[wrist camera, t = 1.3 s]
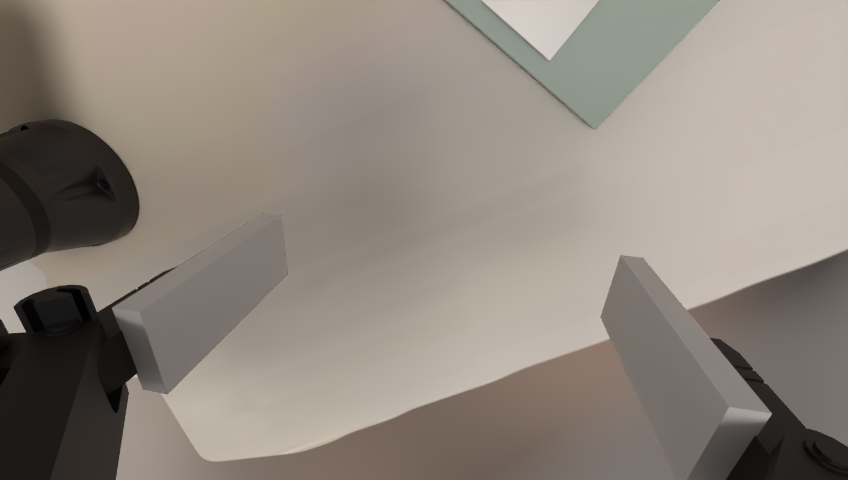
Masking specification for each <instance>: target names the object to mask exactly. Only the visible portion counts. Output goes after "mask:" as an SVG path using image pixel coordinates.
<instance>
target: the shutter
mask: <svg viewBox="0 0 848 480" xmlns="http://www.w3.org/2000/svg"><path fill="white" fill-rule="evenodd" d="M598 1H599V0H482V3H483V4H484V5H485V6H487V7H488V8H489V9H490V10H491V11H492V12H493V13H495V14H496V15H497V16H498V17H499V18H500V19H501V20H502V21H504V22H505V23H506V24H507V25H508V26H509V27H510V28H511V29H513V30H514V31H515V32H516V33H517V34H518V35H519V36H521V37H522V38H523V39H524V40H525V41H526V42H527V43H528V44H530V45H531V46H532V47H533V48H534V49H535V50H536V51H538V52H539V53H540V54H541V55H542V56H543V57H544V58H545V59H547V60H548V61H550V60H551V58H552V57H553V56H554V55H555V54H556V52H557V51H558V50H559V49H560V47H561V46H562V45H563V44H564V43H565V41H566V40H567V39H568V38H569V36H570V35H571V34H572V33H573V32H574V30H575V29H576V28H577V27H578V25H579V24H580V23H581V22H582V21H583V19H584V18H585V17H586V16H587V14H588V13H589V12H590V11H591V9H592V8H593V7H594V6H595V5H596V3H597V2H598Z"/></svg>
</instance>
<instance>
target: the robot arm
mask: <svg viewBox="0 0 848 480" xmlns="http://www.w3.org/2000/svg"><path fill="white" fill-rule="evenodd" d="M137 215H138V199H137V194H136V190H135V187H134V184H133V182H132V180H131V177H130V175H129V174H128V172H127V170H126V168H125V167H124V165H123V164H122V162H121V161H120V159H119V158H118V157H117V156H116V154H115V153H114V152H113V151H112V150H111V149H110V148H109V147H108V146H107V145H106V144H105V143H104V142H103V141H102V140H100V139H99V138H98V137H96V136H95V135H94V134H92V133H91V132H89V131H88V130H86V129H84V128H82V127H80V126H78V125H75V124H73V123H70V122H66V121H62V120H45V121H36V122H29V123H24V124H21V125H18V126H16V127H14V128H12V129H11V130H9V131H8V132H5V133H2V134H0V271H1V270H4V269H6V268H9V267H11V266H13V265H16V264H18V263H21V262H23V261H26V260H28V259H31V258H33V257H36V256H38V255H40V254H43V253H46V252H53V251H60V250H67V249H74V248H80V247H90V246H99V245H103V244H106V243H109V242H111V241H113V240H116V239H118V238H120V237H122V236H124V235H126V234H127V233H128V232H129V231H130V230H131V229H132V228H133V226H134V224H135V222H136V219H137ZM287 274H288V270H287V262H286V254H285V246H284V238H283V230H282V221H281V215H273V214H264V213H263V214H261V215H260V216H258V217H257V218H255V219H253V220H252V221H250V222H249V223H247V224H245V225H244V226H242V227H241V228H239V229H237V230H236V231H234V232H233V233H231V234H229V235H228V236H226V237H225V238H223V239H221V240H220V241H218V242H217V243H215V244H213V245H212V246H210V247H208V248H207V249H205V250H204V251H202V252H200V253H199V254H197V255H196V256H194V257H192V258H191V259H189V260H188V261H186V262H184V263H183V264H181V265H180V266H178V267H175V268H172V269H170V270H167V271H164V272H162V273H161V274H159V275H158V276H156V277H154V278H153V279H151V280H150V281H149V282H146V283H145V284H143V285H141V286H140V287H138V289H137V290H136V289H135V290H133V291H131V292H130V293H128V294H127V295H125V296H123V297H122V298H120V299H118V300H117V301H115V302H113V303H112V304H110V305H109V306H107V307H105V308H104V309H102V310H100V311H99V312H97V311H96V309H95V306H94V304H93V301H92V299H91V296H90V294H89V291H88V289H87V288H86V287H84V286H81V285H65V286H58V287H54V288H49V289H45V290H42V291H40V292H37V293H34V294H32V295H30V296H28V297H26V298H24V299H22V300H21V301H19V302H18V303H17V304H16V305H15V306H14V309H15V311H16V313H17V315H18V317H19V319H20V321H21V323H22V325H23V327H24V329H25V330H26V333H10V334H9V333H8V331H7V329H6V328H5V326H4V324H3V322H2V320H1V319H0V480H116V474H117V467H118V461H119V454H120V448H121V441H122V434H123V428H124V421H125V415H126V408H127V401H128V395H129V392H128V388H127V385H126V382H127V381H128V380H130V379H131V378H132V377H133V376H134V375H135V374H137V375H138V378H139V380H140V383H141V386H142V388H143V390H149V391H153V392H159V393H164V394H168V393H169V392H170V391H171V390H172V389H173V388H174V387H175V386H176V385H177V384H178V383H179V382H180V381H181V380H182V379H183V378H184V377H185V376H186V375H187V374H188V373H189V372H190V371H191V370H192V369H193V368H194V367H195V366H196V365H197V364H198V363H199V362H200V361H201V360H202V359H203V358H204V357H205V356H206V355H207V354H208V353H209V352H210V351H211V350H212V349H213V348H214V347H215V346H216V345H217V344H218V343H219V342H220V341H221V340H222V339H223V338H224V337H225V336H226V335H227V334H228V333H229V332H230V331H231V330H232V329H233V328H234V327H235V326H236V325H237V324H238V323H239V322H240V321H241V320H242V319H243V318H244V317H245V316H246V315H247V314H248V313H249V312H250V311H251V310H252V309H253V308H254V307H255V306H256V305H257V304H258V303H259V302H260V301H261V300H262V299H263V298H264V297H265V296H266V295H267V294H268V293H269V292H270V291H271V290H272V289H273V288H274V287H275V286H276V285H277V284H278V283H279V282H280V281H281V280H282V279H283V278H284V277H285V276H286V275H287ZM601 319H602V321H603V324H604V326H605V328H606V330H607V332H608V335H609V337H610V339H611V341H612V343H613V346H614V348H615V350H616V352H617V354H618V357H619V359H620V361H621V363H622V365H623V368H624V370H625V372H626V374H627V376H628V379H629V381H630V383H631V385H632V387H633V390H634V392H635V394H636V396H637V398H638V400H639V403H640V405H641V407H642V409H643V412H644V414H645V416H646V418H647V420H648V423H649V425H650V427H651V429H652V431H653V434H654V436H655V438H656V440H657V442H658V445H659V447H660V449H661V451H662V453H663V456H664V458H665V460H666V462H667V464H668V467H669V469H670V471H671V473H672V475H673V478H674V480H848V447H847V446H845V445H844V444H842V443H840V442H839V441H837V440H835V439H834V438H832V437H829V436H827V435H824V434H822V433H820V432H818V431H815V430H810V429H806V428H805V426H804V425H803V424H802V423H801V422H800V421H799V420H798V419H797V417H796V416H795V415H794V414H793V413H792V412H791V411H790V410H789V408H788V407H787V406H786V405H785V404H784V403H783V402H782V401H781V399H780V398H779V397H778V396H777V395H776V394H775V393H774V392H773V390H772V389H771V388H770V387H769V386H768V385H767V384H764V381H763V379H762V378H761V377H760V376H759V375H758V374H757V373H756V372H755V371H753V370H752V369H753V368H752V367H751V366H750V365H749V364H748V362H747V361H746V360H745V359H744V358H743V357H742V356H741V355H740V353H738V352H737V351H736V350H734V349H733V348H731V347H730V346H728V345H727V344H726V343H724V342H723V341H722V340H720V339H714V338H709V337H708V336H707V335H706V333H705V332H704V331H703V330H702V328H701V327H700V326H699V325H698V324H697V322H696V321H695V320H694V319H693V318H692V317H691V315H690V314H689V313H688V312H687V310H686V309H685V308H684V307H683V306H682V304H681V303H680V302H679V301H678V300H677V298H676V297H675V296H674V295H673V293H672V292H671V291H670V290H669V289H668V287H667V286H666V285H665V284H664V283H663V281H662V280H661V279H660V278H659V277H658V275H657V274H656V273H655V272H654V271H653V269H652V268H651V267H650V266H649V265H648V263H647V262H646V261H645V260H644V258H640V257H631V256H623V255H620V259H619V262H618V265H617V268H616V271H615V274H614V277H613V280H612V283H611V286H610V289H609V293H608V296H607V299H606V302H605V305H604V308H603V311H602V314H601Z"/></svg>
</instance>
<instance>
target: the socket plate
mask: <svg viewBox="0 0 848 480" xmlns="http://www.w3.org/2000/svg"><path fill="white" fill-rule="evenodd" d="M444 1H445V2H446V3H448V4H449V5H450V6H451V7H452V8H453V9H454V10H456V11H457V12H458V13H459V14H460V15H461V16H463V17H464V18H465V19H466V20H467V21H468V22H469V23H471V24H472V25H473V26H474V27H475V28H476V29H478V30H479V31H480V32H481V33H482V34H483V35H484V36H486V37H487V38H488V39H489V40H490V41H491V42H492V43H494V44H495V45H496V46H497V47H498V48H499V49H501V50H502V51H503V52H504V53H505V54H506V55H507V56H509V57H510V58H511V59H512V60H513V61H514V62H516V63H517V64H518V65H519V66H520V67H521V68H522V69H524V70H525V71H526V72H527V73H528V74H529V75H531V76H532V77H533V78H534V79H535V80H536V81H537V82H539V83H540V84H541V85H542V86H543V87H544V88H545V89H547V90H548V91H549V92H550V93H551V94H552V95H554V96H555V97H556V98H557V99H558V100H559V101H560V102H562V103H563V104H564V105H565V106H566V107H567V108H569V109H570V110H571V111H572V112H573V113H574V114H575V115H577V116H578V117H579V118H580V119H581V120H582V121H583V122H585V123H586V124H587V125H588V126H589V127H591V128H593V129H595V130H596V129H597V128H598V127H599V125H600V124H601V123H602V122H603V121H604V120H605V119H606V118H607V117H608V116H609V115H610V114H611V113H612V112H613V111H614V110H615V109H616V108H617V107H618V106H619V105H620V104H621V103H622V102H623V101H624V99H625V98H626V97H627V96H628V95H629V94H630V93H631V92H632V91H633V90H634V89H635V88H636V87H637V86H638V85H639V84H640V83H641V82H642V81H643V80H644V79H645V78H646V77H647V76H648V75H649V73H650V72H651V71H652V70H653V69H654V68H655V67H656V66H657V65H658V64H659V63H660V62H661V61H662V60H663V59H664V58H665V57H666V56H667V55H668V54H669V53H670V52H671V51H672V50H673V49H674V47H675V46H676V45H677V44H678V43H679V42H680V41H681V40H682V39H683V38H684V37H685V36H686V35H687V34H688V33H689V32H690V31H691V30H692V29H693V28H694V27H695V26H696V25H697V24H698V23H699V21H700V20H701V19H702V18H703V17H704V16H705V15H706V14H707V13H708V12H709V11H710V10H711V9H712V8H713V7H714V6H715V5H716V4H717V3H718V2H719V1H720V0H599V1H598V2H597V3H596V5H595V6H594V7H593V8H592V9H591V11H590V12H589V13H588V14H587V16H586V17H585V18H584V19H583V21H582V22H581V23H580V24H579V25H578V27H577V28H576V29H575V30H574V32H573V33H572V34H571V35H570V36H569V38H568V39H567V40H566V41H565V43H564V44H563V45H562V46H561V47H560V49H559V50H558V51H557V52H556V54H555V55H554V56H553V57H552V58H551V60H550V61H548V60H547V59H545V58H544V57H543V56H542V55H541V54H540V53H539V52H538V51H536V50H535V49H534V48H533V47H532V46H531V45H530V44H528V43H527V42H526V41H525V40H524V39H523V38H522V37H521V36H519V35H518V34H517V33H516V32H515V31H514V30H513V29H511V28H510V27H509V26H508V25H507V24H506V23H505V22H504V21H502V20H501V19H500V18H499V17H498V16H497V15H496V14H495V13H493V12H492V11H491V10H490V9H489V8H488V7H487V6H485V5H484V4H483V3H482V0H444Z"/></svg>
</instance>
